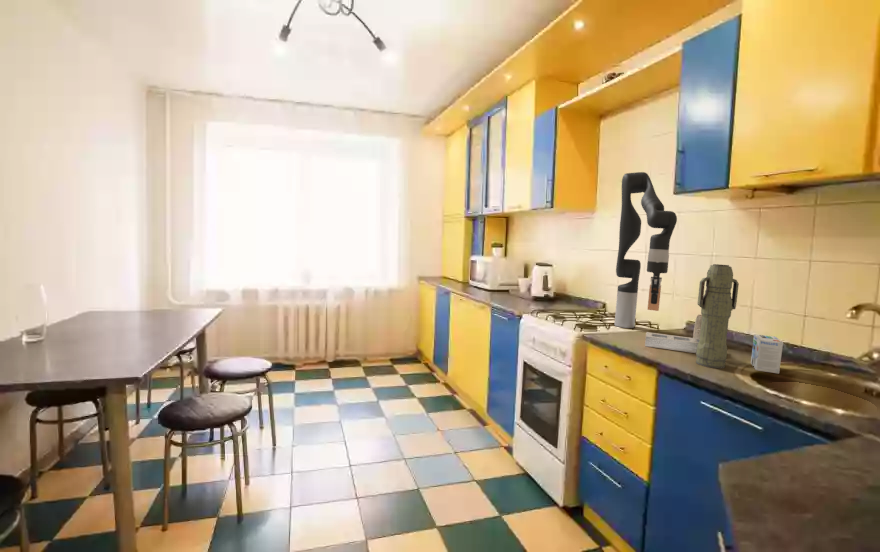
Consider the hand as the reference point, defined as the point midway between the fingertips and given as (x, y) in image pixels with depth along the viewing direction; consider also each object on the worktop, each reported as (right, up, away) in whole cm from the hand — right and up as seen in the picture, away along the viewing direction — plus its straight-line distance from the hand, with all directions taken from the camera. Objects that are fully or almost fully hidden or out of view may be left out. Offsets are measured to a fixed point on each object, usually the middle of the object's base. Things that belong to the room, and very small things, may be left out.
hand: (653, 302), depth 178 cm
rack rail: (+10, -18, -2) cm, 21 cm away
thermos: (+8, -20, -24) cm, 33 cm away
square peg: (0, -3, 0) cm, 3 cm away
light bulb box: (+26, -21, -25) cm, 42 cm away
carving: (+26, -18, +10) cm, 33 cm away
